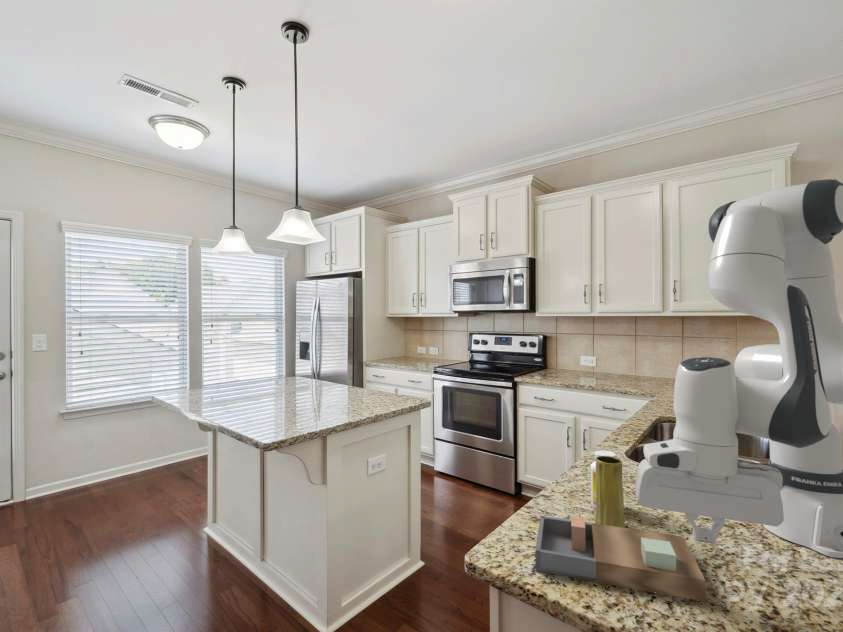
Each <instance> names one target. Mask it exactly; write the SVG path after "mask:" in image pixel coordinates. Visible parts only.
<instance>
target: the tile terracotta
mask: <svg viewBox="0 0 843 632" xmlns="http://www.w3.org/2000/svg"><path fill="white" fill-rule="evenodd" d="M570 520H571V540H572V549H573V550H579V551H585V552H586V544H585V522H586V521H585V517H584V516H578V515H571V516H570Z"/></svg>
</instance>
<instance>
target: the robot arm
mask: <svg viewBox="0 0 843 632" xmlns="http://www.w3.org/2000/svg"><path fill="white" fill-rule="evenodd" d="M708 220H709V221H708V233H709V238H710V241H711V242H712V243H713V245H712V248H711V253H710V259H709V265H708V275H707V283H708V285H707V286H708V289H709V292H710V293H711V295H712V296H713V297H714V298H715V300H717V302H719V303H721V304H722V305H724V306H726V307H728V308H729V309H731V310H734V311H736V312H739V313H742V314H745V315H748V316H752V317H755V318H758V319H761V320H763V321H767V322H769V323H771V324H773V326H774V327H775V328H776V330H777V332H778V339H779V344H778V343H774V344H773V343H769V344H768V343H766V344H759V345H752V346H747V347H744V348H743V349H741V350H740V351H739V352H738V353H737V356H736V358H735V360H734V362H733V363H734V365H733V363H732V361H729V360H727V359H723V358H720V357H709V356H706V357H705V356H703V357H692V358H687V359H685V360H683V361H681V362H680V363H679V364H678V367H677V370H676V374H675V379H674V386H673V387H674V389H673V413H674V416H675V425H674V429H673V433H672V434H673V437H672V438H671V439H668V440H661V441H657V442H652V443H651V442H650V443H647V444H644V445H643V451H642V452H643V455H644V459H642V460H641V461H640V462H639V464H638V466H637V472H636V475H635V476H636V478H635V486H634V492H635V493H634V494H635V498H636V500H637V502H638V503H639V504H640V506H641V507H644V508H649V509H655V510H663V511H668V512H669V511H670V512H676V513H683V514H684V515H685V517H686V518H687V521H688V522H689V523H690V525H691V527H692V538H693V540H694V541H695V542H700V543H706V544H712V545H716V544H717V535H718V534H719V533H720V532H721V530H722V529H723V528H724V527H725V525H726V522H725V521H726V520H730V521H737V522H745V523H750V524H758V525H762V526H763V527H764V528H765V529H766V530H768V531H769V532H771V533H772V534H773V535H776V536H778V537H779V538H782V539H784V540H786V541H789V542H791V543H794V544H796V545H799V546H803V547H806V548H808V549H811V550H812V551H813V550H814V551H816V552H818V553H820V554H821V555H825V556H826V557H829V558H836V559H843V443H842V441H843V438H842V435H841V433H840V431H839V429H838V428H837V427H836V426H835V425H834V424H833V423H832V412H831V408H830V405H829V403H830V404H831V403H832V404H837V405H843V321H842V319H841V317H840V313H839V308H838V303H837V302H838V301H837V294H836V284H835V283H836V281H835V271H834V270H835V268H834V262H833V258H832V253H831V250H830V248H831V247H830V246H829V244H830V243H831V242H832V240H833V239H834V237H835V236H836V235H837V236H838V235H839V234H840V233H841V232H842V231H843V182H841V181H839V180H837V179H831V178H830V179H828V178H827V179H818V180H811V181H809V182H808V183H801V184H794V185H788V186H784V187H779V188H778V187H777V188H774V189H770V190H767V191H766V192H765V191H764V192H763V193H758V194H755V195H752V196H748V197H746V198H743V199H740V200H737V201H736V200H733V201H732V200H731V201H730V202H728V203H725V204H723V205H721V206H719V207H717V208H716V209H715V211H714V212H713V213H712V214H711V216H710V218H709V219H708ZM736 433H737V434H742V435H747V436H752V437H758V438H762V439H767V440H768V441H769V458H767V462H755V461H754V462H753V461H749V460H741V459H739V440H738V437H737V434H736ZM699 516H701V517H702V516H703V517H710V519H711V520H712V521H711V523H710V525H709V526H708V528H707V527H701V526H697V524H696V522H697V521H699Z"/></svg>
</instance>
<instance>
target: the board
mask: <svg viewBox="0 0 843 632" xmlns="http://www.w3.org/2000/svg"><path fill="white" fill-rule="evenodd" d="M591 523H592V545H593V554H594V559H596V583H601V584H606V585H611V586H617V587H621V588H628V589H632V590H637V589H638V591H643V592H647V591H648V593H654V592H656V593H654V594H658V593H661V594H660V595H663V594H666V595H665V596H669V595H671V596H670V597H674V596H675V598H679V597H681V599H685V598H686V600H690V599H692V600H691V601H695V600H699V601H698V602H700V601H705V602H704V603H707V599H706V598H707V594H706V592H707V591H706V589H707V588H706V587H707V586H706V583H707V582H706V579H705V576H704V574H703V573H702V571H701V569H700V567H699V565H698V563H697V561H696V559H695V558H694V556H693V554H692V551H691V550H690V548H689V546H688V544H687V542H686V541H685V538H684V537H683V536H682V535H677V534H670V533H669V534H668V533H663V532H656V531H647V530H642V529H641V530H640V529H635V528H634V529H633V528H629V527H628V528H627V527H625V528H622V527H615V526H608V525H601V524H595V522H594V523H593V522H591ZM641 538H648V539H655V540H661V541H668V542H670V544H671V546H672V548H673V550H674V552H675V555H676V571H673V570H667V569H661V568H656V567H650V566H645V563H644V560H643V556H642V553H641Z"/></svg>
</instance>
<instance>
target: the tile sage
mask: <svg viewBox="0 0 843 632" xmlns="http://www.w3.org/2000/svg"><path fill="white" fill-rule="evenodd" d="M641 553H642V556H643V560H644V563H645V566H650V567H656V568H661V569H667V570H673V571H676V555H675V552H674V550H673V548H672V546H671V544H670V542H668V541H661V540H655V539H648V538H641Z"/></svg>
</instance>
